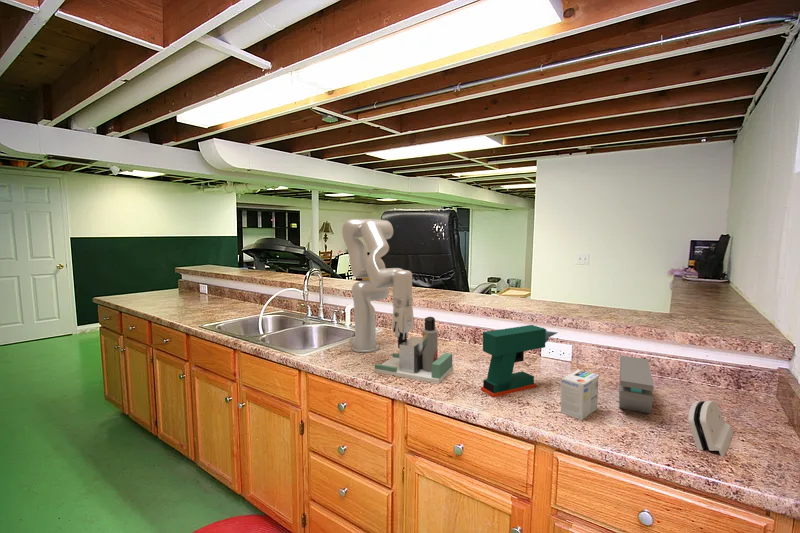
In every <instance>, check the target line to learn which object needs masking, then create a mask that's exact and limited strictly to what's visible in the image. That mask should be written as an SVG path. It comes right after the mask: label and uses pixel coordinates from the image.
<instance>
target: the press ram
mask: <svg viewBox="0 0 800 533" xmlns="http://www.w3.org/2000/svg"><path fill="white" fill-rule="evenodd" d="M398 350H399V361H400V371H405V372H411V373H418V372H419V371H420V370H421V369H423V362H422V337H419V336H411V337H410V338H407V340H406V341H404V342H403V343H401V344H399V348H398Z"/></svg>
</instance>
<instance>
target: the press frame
mask: <svg viewBox="0 0 800 533" xmlns="http://www.w3.org/2000/svg"><path fill="white" fill-rule="evenodd" d="M453 370H454V365H453V353H451V352H450V353H449V352H444V353H442V354H441V356H439V357H438V359H437V360H436V361H434V362H433V363H432V372H427V371H424V370H423V369H421V370H420V371H419V372H418V373H411V372H405V371H400V361H399V353H398V352H393V353H392V357H391V358H389V359H387V360H386V361H384V362H383V363H381V364H380V363H375V364H374V373H377V374H381V373H382V375H387V376H392V375H394V376H393V377H398V378H403V379H408V380H409V379H410V380H414V379H415V380H414V381H421V382H425V383H431V384H432V383H433V384H437V385H439V384H440V383H441V382H442V381H443V380H444V379H445V378H446V377H447V376H448V375H449V374H450V373H451V372H452V371H453Z"/></svg>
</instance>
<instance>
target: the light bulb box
mask: <svg viewBox="0 0 800 533" xmlns="http://www.w3.org/2000/svg"><path fill="white" fill-rule="evenodd" d="M599 376H600V375H599V374H597V373H592V372H588V371H585V370H580V369H575V370H574V371H573V372H571V373H569V374H567V375H565V376H563V377H562V378H561V384H560V385H561V387H560V388H561V389H560V413H561V414H564V415H566V416H569V417H572V418H575V419H576V420H580V421H583V420H585V419H586V418H587V417H588V416H590V415H591V414H593V413H594V412H595V411H596V410H598V401H599V400H598V399H599V378H600V377H599Z"/></svg>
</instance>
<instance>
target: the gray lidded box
mask: <svg viewBox="0 0 800 533" xmlns="http://www.w3.org/2000/svg"><path fill="white" fill-rule="evenodd" d="M619 360H620V361H619V363H620V364H619V365H620V366H619V383H618V384H619V385H618V388H619V389H618V392H619V393H618V405H619V406H618V408H619V409H624V410H630V411H634V412H639V413H645V414H651V411H652V407H653V403H654V402H653V400H654V394H653V392H654V387H655V385H654V381H653V376H652V372H651V368H650V363H649V359H648V358H641V357H633V356H627V355H620V357H619Z"/></svg>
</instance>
